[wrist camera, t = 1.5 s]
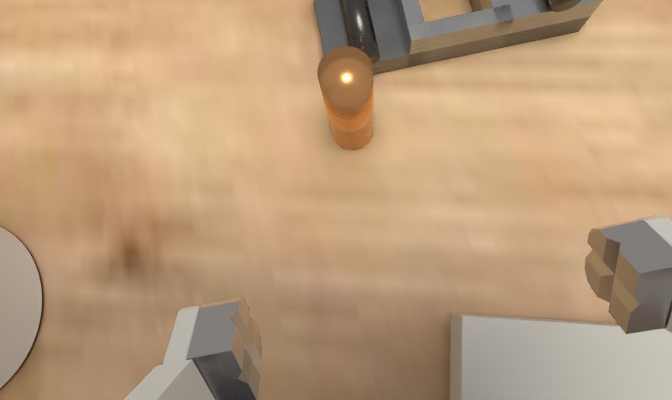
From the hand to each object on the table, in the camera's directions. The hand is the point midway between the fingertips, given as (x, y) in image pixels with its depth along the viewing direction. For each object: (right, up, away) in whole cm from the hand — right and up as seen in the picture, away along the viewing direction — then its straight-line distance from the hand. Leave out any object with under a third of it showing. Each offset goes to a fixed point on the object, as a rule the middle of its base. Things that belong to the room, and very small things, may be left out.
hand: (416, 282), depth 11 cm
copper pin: (-1, +7, +25) cm, 27 cm away
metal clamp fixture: (+7, +17, +27) cm, 32 cm away
